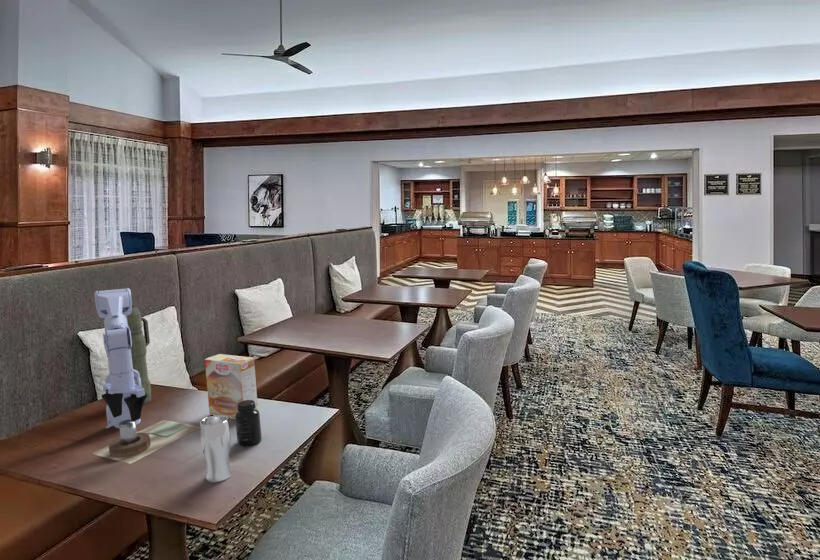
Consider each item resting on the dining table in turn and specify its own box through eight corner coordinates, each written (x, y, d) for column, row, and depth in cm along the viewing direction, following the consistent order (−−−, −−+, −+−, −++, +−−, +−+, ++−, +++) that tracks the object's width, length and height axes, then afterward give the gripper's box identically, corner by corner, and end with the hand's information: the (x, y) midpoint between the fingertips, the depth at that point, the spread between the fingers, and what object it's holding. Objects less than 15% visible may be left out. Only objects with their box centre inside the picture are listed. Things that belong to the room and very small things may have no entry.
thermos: (161, 398, 182) (151, 304, 177) (128, 409, 172) (117, 311, 167) (147, 394, 187) (137, 303, 182) (115, 405, 177) (103, 309, 172)
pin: (118, 450, 140) (115, 423, 139) (131, 444, 143) (128, 418, 142) (128, 453, 138) (125, 426, 137) (141, 446, 142) (138, 420, 141)
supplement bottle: (242, 436, 149) (239, 398, 147) (264, 436, 148) (262, 398, 147) (233, 447, 142) (230, 407, 140) (257, 447, 142) (254, 407, 140)
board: (91, 457, 139) (89, 445, 138) (164, 422, 160) (163, 412, 160) (130, 467, 132) (129, 455, 132) (201, 430, 154) (200, 419, 153)
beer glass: (209, 470, 129) (204, 415, 127) (236, 468, 130) (231, 413, 128) (200, 484, 123) (194, 427, 121) (229, 482, 123) (224, 425, 121)
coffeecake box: (208, 415, 165) (203, 359, 162) (224, 407, 171) (219, 353, 169) (244, 421, 159) (239, 363, 157) (259, 413, 166) (254, 356, 163)
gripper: (90, 373, 137) (95, 420, 139) (126, 378, 131) (131, 427, 133) (114, 365, 143) (119, 410, 145) (149, 370, 137) (154, 417, 139)
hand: (126, 418), depth 139 cm, fingers open, 7 cm apart
